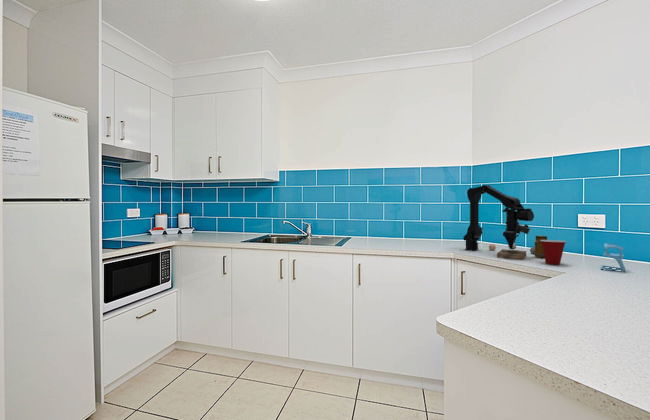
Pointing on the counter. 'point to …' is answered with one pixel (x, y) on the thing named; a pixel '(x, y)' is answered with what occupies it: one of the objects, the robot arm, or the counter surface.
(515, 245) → the steel ball
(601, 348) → the counter surface
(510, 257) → the brown recessed board
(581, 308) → the counter surface
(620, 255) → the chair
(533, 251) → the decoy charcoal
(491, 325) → the counter surface
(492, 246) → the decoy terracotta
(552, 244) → the plastic cup
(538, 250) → the condiment
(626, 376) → the counter surface
